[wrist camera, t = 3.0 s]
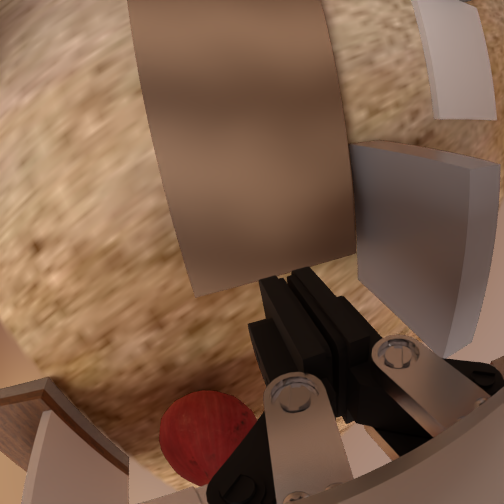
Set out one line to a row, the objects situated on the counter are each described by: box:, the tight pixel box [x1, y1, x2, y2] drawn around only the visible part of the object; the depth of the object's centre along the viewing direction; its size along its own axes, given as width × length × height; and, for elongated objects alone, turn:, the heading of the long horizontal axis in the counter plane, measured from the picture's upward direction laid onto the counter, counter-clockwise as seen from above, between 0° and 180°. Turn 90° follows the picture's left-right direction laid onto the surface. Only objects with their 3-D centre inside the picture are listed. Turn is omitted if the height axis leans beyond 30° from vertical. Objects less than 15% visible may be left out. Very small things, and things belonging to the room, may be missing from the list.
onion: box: [159, 390, 257, 486], centre depth 15 cm, size 6×6×8 cm
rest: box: [127, 0, 356, 298], centre depth 12 cm, size 18×8×1 cm, turn 10°
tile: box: [349, 140, 500, 359], centre depth 13 cm, size 8×2×8 cm, turn 10°
